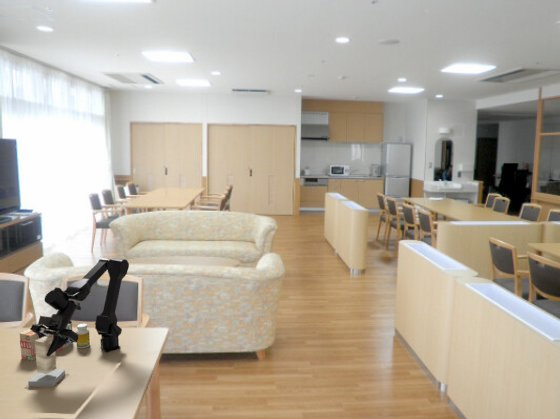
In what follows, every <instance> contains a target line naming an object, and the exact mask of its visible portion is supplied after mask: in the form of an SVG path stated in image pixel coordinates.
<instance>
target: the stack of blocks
mask: <svg viewBox="0 0 560 419" xmlns="http://www.w3.org/2000/svg"><path fill="white" fill-rule="evenodd" d="M43 326H44V325H43ZM45 327H46V326H45ZM46 328H48V327H46ZM66 329H69V330H72V331H73V324H72V323H71V324H68V326H67V328H66ZM48 337H52V338H53V335H51V334H49V336H48ZM19 339H20V340H19V344H20V346H19V347H20V354H21V357H20V358H21V360H24V359H25V360H29V361H32V362H33V361H36V350H35V340H38V339H39V337H38V334H36V333H34V332H33V331H31V330H30V328H29V329H26V330H24V331H22V332H20V333H19ZM72 343H73V344H74V342H71V341H70V339H68V343H66V344H64V345H63V346H62V347H60V348H59V349H57V350H56V351H55V353H57V352H58V351H60V350H62V349H65V348H66V347H69V346H70V345H72Z"/></svg>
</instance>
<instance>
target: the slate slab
mask: <svg viewBox="0 0 560 419" xmlns="http://www.w3.org/2000/svg"><path fill="white" fill-rule="evenodd" d="M65 370H66V369H55V370H53V371H51V372H50V373H48V374H44V373H39V372H37V373H36V374H35V375H33V376H32V377H31V379H29V380H28V381H27V382H28V384H27V385H29V387H54V386H55V385H56V384H57V383H58V382H59V381H60V380H61V379H62V378H63V377H64V376H65V374H66V371H65Z"/></svg>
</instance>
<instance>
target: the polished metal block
mask: <svg viewBox="0 0 560 419" xmlns="http://www.w3.org/2000/svg"><path fill="white" fill-rule="evenodd" d="M52 342H53V338H52V337H47V336H44V337H42V338H40V339H38V340H35V350H36V359H35V364H36V372H37V373H38V372H39V373H44V374H48V373H50V372H51V371H53V370H57V360H56V358H57V357H56V352H54V353H52V354H51V355H50V356H47V353H48V350H49V348H50V346H51V344H52Z"/></svg>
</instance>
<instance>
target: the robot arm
mask: <svg viewBox="0 0 560 419" xmlns="http://www.w3.org/2000/svg"><path fill="white" fill-rule="evenodd" d="M129 267H130V263H129V261H128V260H127V259H125V258H116V257H114V258H113V257H112V258H105V257H102V258H99V259H98V262H97V263H95V265H94V266H93V267H91V269H90V270H88V272H87V273H86V274H85V275H84V276H83V277H82V278H80V279H79V280H76V281H74V282H72V283H71V284H70V285H68V286H67V288H65V289H64V290H62V288H60V287H57V286H56V287H54V289H52V290H50V291H49V292H48V293H46V295H45V297H44V302H45V304H47V305H49V306H50V307H51V308H53V309H54V310H55V311H56V313H53V314H52V315H51V316H45V315H40V316H39V319H38V323H33V324H32V325H31V327H30V328H29V329H30V330H31V331H33V332H34V333H36V334H38V337H39V339H40V338H42V337H44V336H47V337H48V336H49V334H51V335H53V342H52V344H51V346H50V348H49V350H48V353H47V356H50V355H51V354H52V353H54V352H55V351H56V350H57V349H59V348H60V347H62V346H63V345H64V344H66V343H68V339H70V341H71V342H73V343H76V344H77V340H78V338H79V336H78V334H77V333H76V331H74V330H73V329H72V330H69V329H66V328H67V326H68V324H72V323H73V322H72V321H71V320H72V318H73V316H74V314H75V312H76V310H77V311H81V310H82V308H81V304H80V302H84V301H85V300H86V299H87V297H88V296H89V294H90V293H91V289H92V287H93V286H94V285H95V283H97V281H99V279H100V278H101V277H103V275H104V274H105V273H106V272H107V273H108V276H109V281H108V285H107V286H108V287H107V289H106V290H107V291H106V294H105V299H104V305H103V310H102V312H101V314H98V315H96V318H95V322H94V325H95V326H94V328H95V330H96V332H97V334H98V336H100V337H101V338H100V340H99V341H100V349H102V350H103V351H104V352H105V353H108V352H111V351H115V350H119V349H121V346H120V343H119V342H120V341H119V340H120V339H119V336H121V334H122V331H123V329H122V327H120V326H119V325H118V318H117V315H116V309H117V306H118V305H117V304H118V300H119V296H120V289H121V284H122V280H123V279H124V278H125V277H126V275H127V274H128V270H129ZM76 301H77V302H76ZM43 325H44V326H43ZM45 326H46V327H48V328H46V327H45ZM55 353H56V352H55Z"/></svg>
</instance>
